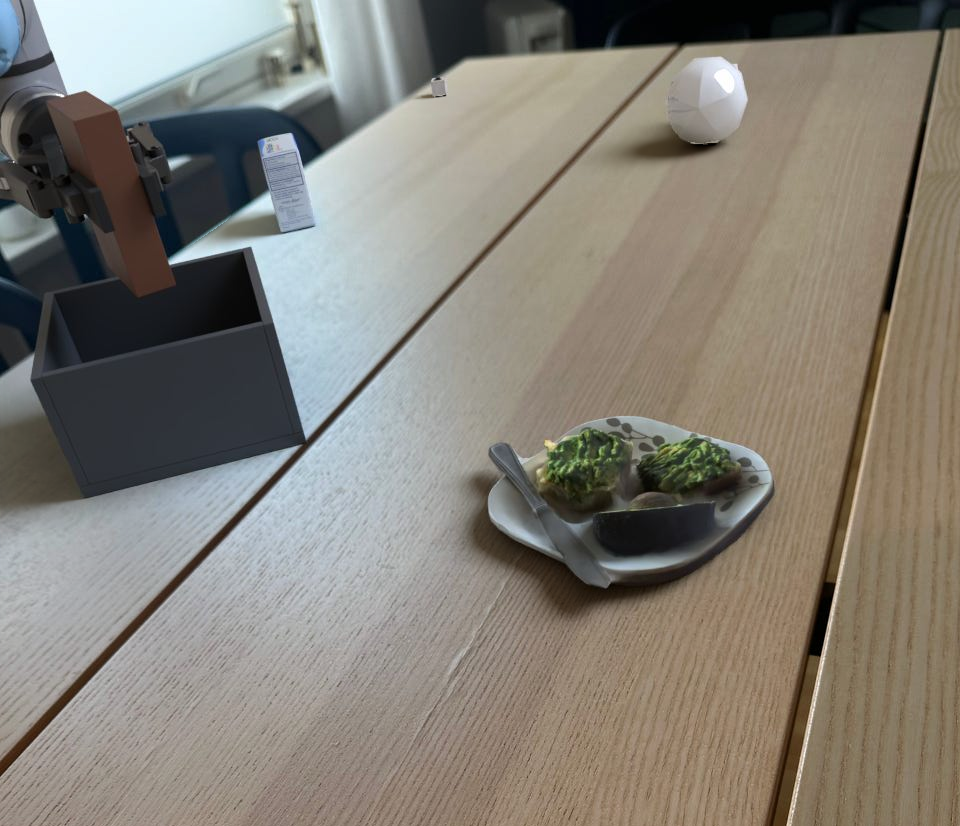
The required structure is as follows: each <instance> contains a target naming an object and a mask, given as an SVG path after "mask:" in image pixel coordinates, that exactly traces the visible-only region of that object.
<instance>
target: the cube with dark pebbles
mask: <svg viewBox="0 0 960 826" xmlns="http://www.w3.org/2000/svg"><path fill="white" fill-rule="evenodd" d="M430 87H431V93H432V97H433V96H438V95H443V94H446V93H447V92H448V85H447V79H446V76H442V77H441V76H438V77H433V78H431V81H430ZM447 94H448V93H447Z"/></svg>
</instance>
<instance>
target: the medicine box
mask: <svg viewBox="0 0 960 826" xmlns="http://www.w3.org/2000/svg"><path fill="white" fill-rule="evenodd" d="M294 136H295V135H294V134H293V133H291V132H288V133H281V134H277V135H271V136H267V137H264V138H261V139H259V140H257V147H258V151H259V155H260V159H261V164H262V169H263V173H264V176H265V180H266V184H267V187H268V191H269V194H270V198H271V202H272V205H273V210H274V214H275V216H276V220H277V225H278V227H279V230H280V232H281V233H288V232H292V231H297V230H302V229H306V228H310V227H315V226H317V219H316V215H315V212H314V207H313V204H312V199H311V194H310V191H309V186H308V182H307V178H306V175H305V170H304V167H303V163H302V158H301V154H300V150H299V148H298V145H297V142H296V139H295V137H294Z"/></svg>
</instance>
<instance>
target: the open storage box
mask: <svg viewBox="0 0 960 826" xmlns="http://www.w3.org/2000/svg"><path fill="white" fill-rule="evenodd" d="M169 265H170V268H171V271H172V274H173V277H174V280H175V283H176V286H173V287H170V288H167V289H164V290H161V291H158V292H155V293H152V294H149V295H146V296H143V297H139V298H137V297H136V296H135V294H134V293H133V292H132V291H131V290H130V289H129V288H128V287H127V286H126V285H125V284H124V283H123V282H122V281H121V280H120V279H119V278H118V276H114V277H113V276H112V277H109V278H105V279H101V280H96V281H92V282H87V283H83V284H79V285H74V286H69V287H64V288H61V289H56V290H52V291H46V292H44V296H43V301H42V308H41V312H40V313H41V314H40V320H39V326H38V330H37V331H38V332H37V338H36V342H35V349H34V354H33V355H34V356H33V361H32V367H31V373H30V379H29V381H30V383H31V385H32V387H33V390H34V392H35V395H36V396H37V398H38V401H39V404H40V405H41V407H42V409H43V411H44V413H45V416H46V419H47V421H48V423H49V425H50V427H51V429H52V431H53V433H54V436H55V438H56V441H57V442H58V444H59V447H60V449H61V451H62V453H63V456H64V458H65V460H66V462H67V464H68V467H69V468H70V470H71V473H72V476H73V477H74V479H75V482H76V484H77V486H78V489H79V490H80V492H81V495H82V497H83V499H87V498H91V497H94V496H98V495H103V494H106V493H110V492H114V491H119V490H122V489H127V488H130V487H135V486H138V485H143V484H147V483H151V482H154V481H159V480H162V479H166V478H171V477H174V476H178V475H182V474H187V473H190V472H191V473H192V472H194V471H198V470H203V469H206V468H210V467H214V466H218V465H222V464H226V463H227V464H228V463H230V462H234V461H238V460H242V459H243V460H244V459H246V458H250V457H254V456H258V455H262V454H266V453H270V452H275V451H278V450H283V449H286V448H290V447H295V446H298V445H302V444H306V443H307V439H306V434H305V431H304V428H303V423H302V421H301V420H302V419H301V416H300V413H299V409H298V405H297V401H296V397H295V395H294V391H293V388H292V383H291V379H290V377H289V373H288V369H287V366H286V362H285V358H284V355H283V351H282V348H281V344H280V341H279V337H278V333H277V329H276V326H275V322H274V319H273V315H272V312H271V308H270V306H269V305H270V304H269V302H268V298H267V295H266V292H265V287H264V285H263V282H262V278H261V275H260V271H259V268H258V264H257V261H256V257H255V254H254V251H253V247H252V246H247V247H243V248H238V249H233V250H229V251H224V252H220V253H217V254H211V255H207V256H202V257H199V258H193V259H189V260H185V261H179V262H176V263H171V264H169Z"/></svg>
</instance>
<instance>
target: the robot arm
mask: <svg viewBox="0 0 960 826" xmlns="http://www.w3.org/2000/svg"><path fill="white" fill-rule="evenodd" d="M59 69H60V68H59V66H58V64H57V61H56V59H55V56H54V53H53V51H52V49H51V46H50V43H49V40H48V38H47V35H46V32H45V29H44V26H43V23H42V21H41V18H40V15H39V12H38V9H37V7H36V3H35V1H34V0H0V153H2V154H3V155H4V156H5V157H6V158H7V159H9V161H1V160H0V199H2V200H8V201H10V200H11V201H14V202H16V203H17V204H19V205H21V207H23V208H24V209H25V210H27V211H28V212H30V213H32V214H33V215H35V216H36V217H37V218H39V219H44V220H47V219H51V218H52V217H54V216H55V215H56V211H55V210H56V209H63V211H64V213H65V216H66V219H67V222H68V224H70V225H76V224H80V223H82V222H85V220H86V217H87V218H88V219H89V220H90V219H91V220H92V221H93V222H94V223H95V224H96V225H97V226H98V227H99V228H100V229H101V230H102V231H103V232H104V233H105V234H106V233H109V232H112V231H116V230H115V227H114V225H113V222H112V219H111V216H110V214H109V211H108V208H107V205H106V203H105V200H104V197H103V194H102V192H101V190H100V189H99V188H98V187H96V186H95V185H94V184H93V183H92V182H91V181H89V180H88V179H87V178H86V177H85V176H84V175H82V174H81V173H80V172H79V171H78V172H75V173H72V171H71V168H70V165H69V163H68V160H67V157H66V155H65V152H64V149H63V147H62V144H61V141H60V139H59V136H58V133H57V131H56V128H55V125H54V123H53V120H52V117H51V115H50V112H49V110H48V107H47V104H46V101H48V100H51V99H55V98H59V97H63V96H67V95H69V94H68V91H67V89H66V86H65V85H66V84H65V83H64V81H63V78H62V75H61V72H60V70H59ZM126 133H127V135H126V137H127V140H128V143H129V146H130V149H131V152H132V155H133V158H134V161H135V164H136V167H137V170H138V173H139V177H140V180H141V183H142V186H143V189H144V191H145V194H146V197H147V200H148V203H149V206H150V209H151V212H152V215H153V218H156V219H159V218H162V217H164V216H165V217H166V216H167V212H166V209H165V205H164V203H163V200H162V197H161V194H160V193H163V192H164V187H163V185H168V184H171V183H172V182H173V181H174V177H173V173H172V171H171V167H170V164H169V161H168V157H167V155H166V151H165V148H164V145H163V144H162V143H161V142H160V141H159V140H158V139H157V138H156V137H155V136H154V133H153V131H152V128H151V124H150V122H149V121H144V120H143V121H138V122H137V123H136V124H134V125H133V127H129V128H126Z"/></svg>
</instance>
